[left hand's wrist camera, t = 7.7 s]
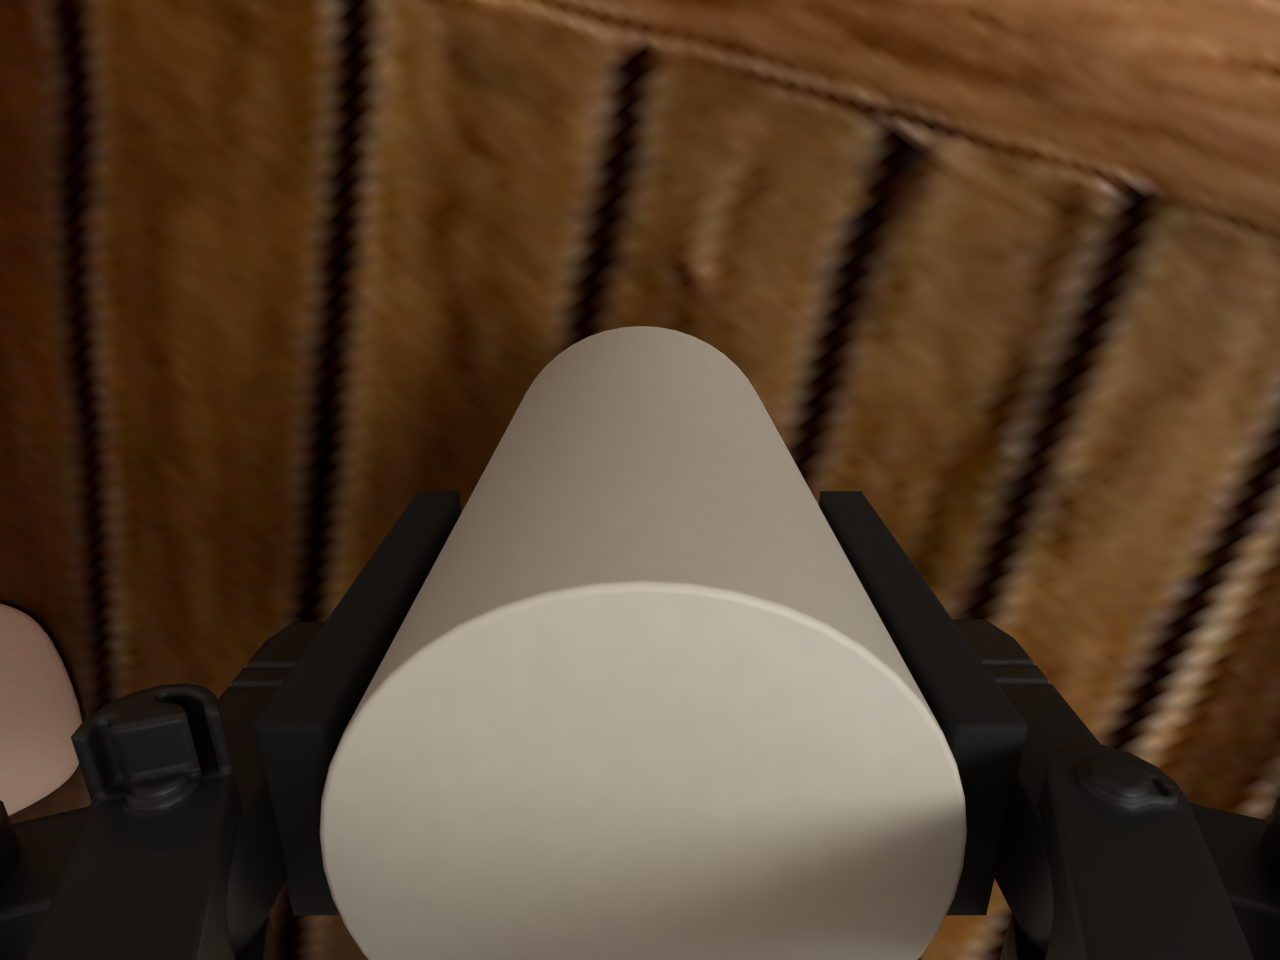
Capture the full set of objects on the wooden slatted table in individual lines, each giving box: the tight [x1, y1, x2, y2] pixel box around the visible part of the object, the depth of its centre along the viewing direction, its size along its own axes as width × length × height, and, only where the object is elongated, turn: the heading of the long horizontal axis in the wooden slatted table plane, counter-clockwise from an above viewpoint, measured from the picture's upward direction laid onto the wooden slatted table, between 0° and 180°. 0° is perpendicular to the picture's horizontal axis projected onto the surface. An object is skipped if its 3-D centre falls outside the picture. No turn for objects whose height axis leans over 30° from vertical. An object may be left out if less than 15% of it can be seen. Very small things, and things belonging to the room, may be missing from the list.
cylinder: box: [320, 326, 967, 960], centre depth 14 cm, size 7×7×13 cm
